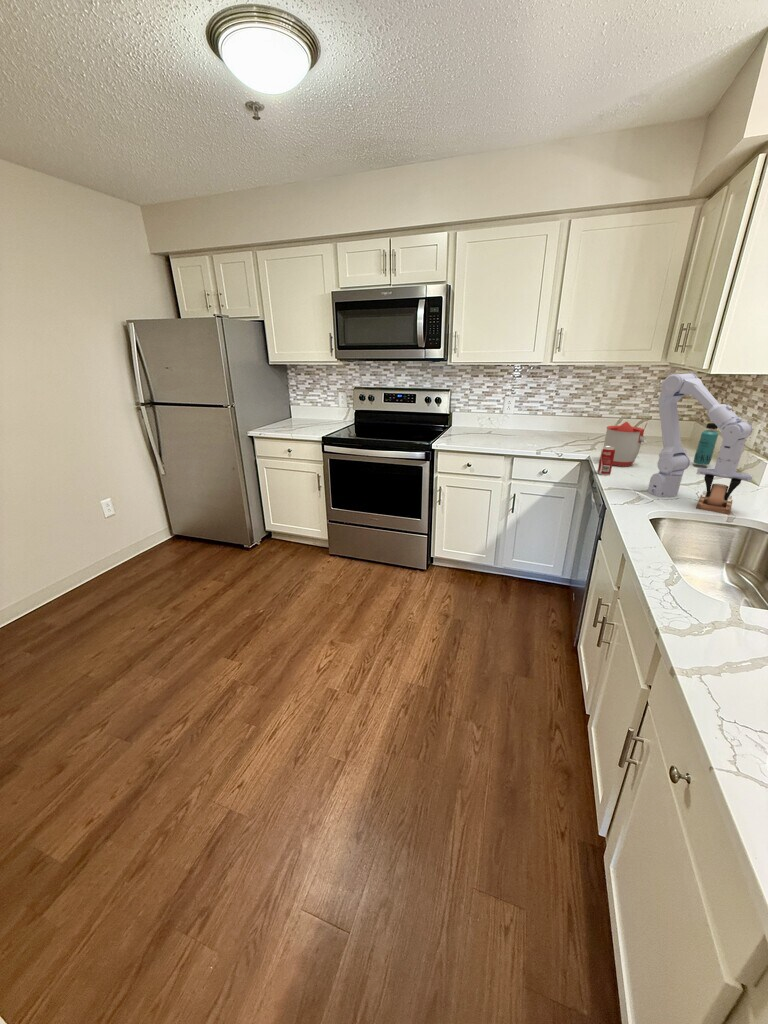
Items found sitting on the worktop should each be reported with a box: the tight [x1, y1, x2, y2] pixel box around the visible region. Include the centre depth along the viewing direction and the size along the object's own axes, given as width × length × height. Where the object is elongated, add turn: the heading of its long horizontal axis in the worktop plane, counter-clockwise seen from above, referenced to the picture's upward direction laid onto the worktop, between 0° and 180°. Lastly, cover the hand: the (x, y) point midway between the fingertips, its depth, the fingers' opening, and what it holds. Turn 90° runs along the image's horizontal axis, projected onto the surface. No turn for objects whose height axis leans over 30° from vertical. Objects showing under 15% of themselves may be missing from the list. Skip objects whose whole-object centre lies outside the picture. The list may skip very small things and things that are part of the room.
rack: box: [695, 490, 733, 516], centre depth 148 cm, size 18×9×2 cm, turn 140°
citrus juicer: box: [603, 421, 647, 467], centre depth 198 cm, size 16×17×20 cm
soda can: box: [597, 445, 615, 476], centre depth 184 cm, size 5×5×12 cm
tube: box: [707, 483, 729, 507], centre depth 143 cm, size 4×4×7 cm
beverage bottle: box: [693, 422, 719, 466], centre depth 193 cm, size 6×7×20 cm
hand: (716, 497), depth 144 cm, fingers closed on tube, 4 cm apart
